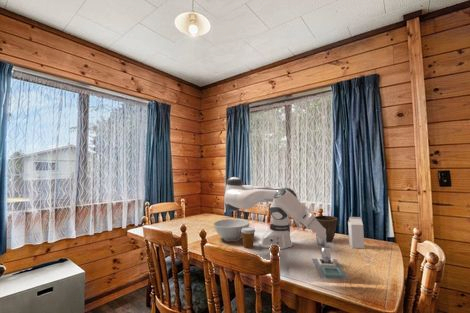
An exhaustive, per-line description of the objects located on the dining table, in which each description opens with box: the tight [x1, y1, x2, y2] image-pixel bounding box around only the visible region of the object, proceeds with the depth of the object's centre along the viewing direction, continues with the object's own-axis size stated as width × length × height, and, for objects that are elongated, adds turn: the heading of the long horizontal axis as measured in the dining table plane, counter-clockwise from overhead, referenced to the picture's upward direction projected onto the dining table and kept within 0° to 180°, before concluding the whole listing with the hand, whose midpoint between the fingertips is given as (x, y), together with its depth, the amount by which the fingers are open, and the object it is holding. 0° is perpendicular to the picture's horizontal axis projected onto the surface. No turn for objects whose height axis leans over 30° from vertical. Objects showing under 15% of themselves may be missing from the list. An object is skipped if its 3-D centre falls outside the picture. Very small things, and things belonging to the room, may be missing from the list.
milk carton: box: [347, 216, 365, 249], centre depth 151 cm, size 7×7×19 cm
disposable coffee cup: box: [241, 226, 256, 249], centre depth 155 cm, size 10×10×12 cm
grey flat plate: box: [311, 258, 351, 283], centre depth 117 cm, size 13×23×2 cm, turn 171°
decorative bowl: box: [213, 218, 250, 242], centre depth 173 cm, size 27×27×12 cm
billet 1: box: [315, 228, 327, 247], centre depth 113 cm, size 4×4×8 cm
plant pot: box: [315, 215, 338, 243], centre depth 164 cm, size 15×15×16 cm
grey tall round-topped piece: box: [320, 246, 332, 264], centre depth 122 cm, size 4×4×8 cm
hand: (322, 235), depth 113 cm, fingers closed on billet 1, 4 cm apart
